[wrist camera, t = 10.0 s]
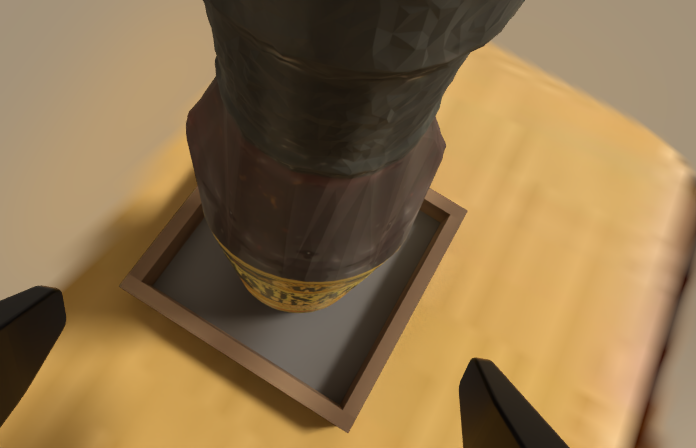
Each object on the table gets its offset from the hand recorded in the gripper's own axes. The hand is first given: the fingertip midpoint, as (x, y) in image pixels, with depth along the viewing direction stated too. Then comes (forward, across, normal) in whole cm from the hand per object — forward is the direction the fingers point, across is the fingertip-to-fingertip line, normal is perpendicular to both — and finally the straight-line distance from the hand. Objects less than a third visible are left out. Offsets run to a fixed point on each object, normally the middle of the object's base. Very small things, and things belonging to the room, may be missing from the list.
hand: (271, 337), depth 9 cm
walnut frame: (+12, 0, +6) cm, 14 cm away
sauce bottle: (+12, 0, +6) cm, 13 cm away
